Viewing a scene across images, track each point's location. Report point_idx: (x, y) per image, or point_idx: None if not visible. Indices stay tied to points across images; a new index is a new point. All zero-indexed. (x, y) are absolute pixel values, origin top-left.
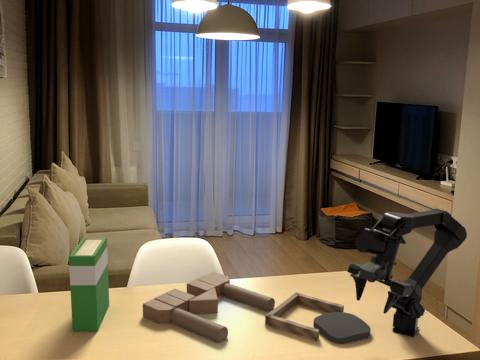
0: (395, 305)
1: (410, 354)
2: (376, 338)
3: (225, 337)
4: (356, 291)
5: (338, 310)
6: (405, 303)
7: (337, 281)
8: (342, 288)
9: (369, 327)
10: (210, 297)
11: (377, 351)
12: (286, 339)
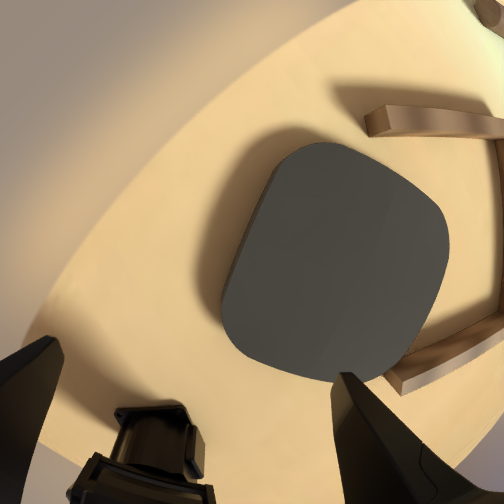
0: (170, 489)
1: (52, 299)
2: (194, 321)
3: (483, 19)
4: (399, 424)
5: (405, 368)
6: (85, 494)
7: None
8: None
9: (242, 349)
10: None
11: (133, 226)
12: (428, 74)
